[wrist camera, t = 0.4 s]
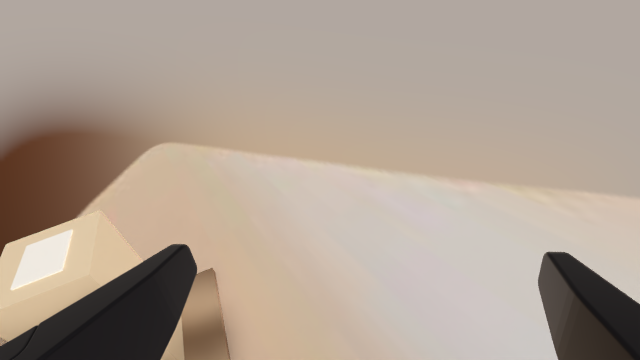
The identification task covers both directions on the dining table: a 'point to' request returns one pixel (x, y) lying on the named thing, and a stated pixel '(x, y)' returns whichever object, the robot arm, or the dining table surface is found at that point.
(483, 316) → the dining table surface
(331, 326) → the dining table surface
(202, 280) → the base
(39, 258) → the cream tall block
